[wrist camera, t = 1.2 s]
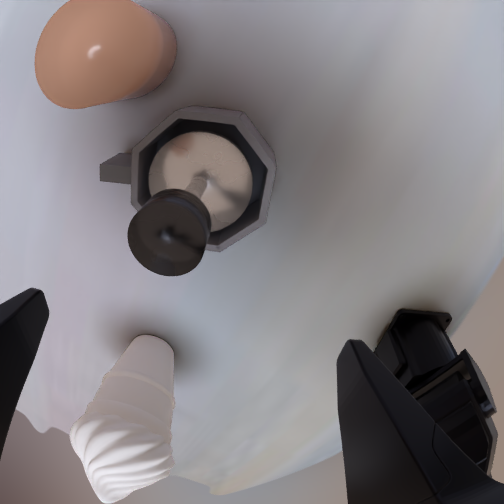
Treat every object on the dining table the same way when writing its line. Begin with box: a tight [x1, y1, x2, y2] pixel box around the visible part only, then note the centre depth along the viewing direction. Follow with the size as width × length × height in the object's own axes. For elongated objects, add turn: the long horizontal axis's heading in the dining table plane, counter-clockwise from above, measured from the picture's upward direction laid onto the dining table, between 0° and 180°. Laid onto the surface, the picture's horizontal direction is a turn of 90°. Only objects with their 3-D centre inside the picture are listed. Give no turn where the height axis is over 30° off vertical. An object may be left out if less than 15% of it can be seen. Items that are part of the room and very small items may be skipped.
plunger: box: [128, 131, 253, 276], centre depth 13 cm, size 6×6×7 cm
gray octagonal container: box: [100, 106, 276, 252], centre depth 17 cm, size 10×8×4 cm
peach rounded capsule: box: [35, 0, 177, 109], centre depth 12 cm, size 6×6×6 cm
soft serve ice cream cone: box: [70, 335, 175, 503], centre depth 21 cm, size 8×8×16 cm
